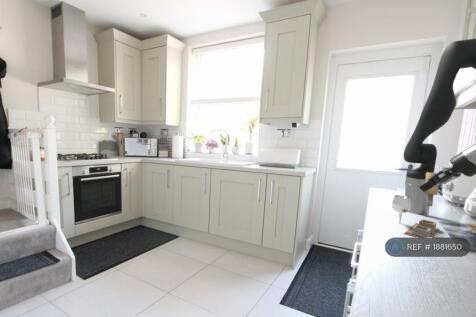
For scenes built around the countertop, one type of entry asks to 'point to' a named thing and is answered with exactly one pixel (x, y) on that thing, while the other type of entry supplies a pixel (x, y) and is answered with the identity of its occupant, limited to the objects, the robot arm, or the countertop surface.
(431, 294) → the countertop surface
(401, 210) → the wineglass
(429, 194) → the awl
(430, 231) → the plank
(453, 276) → the countertop surface
